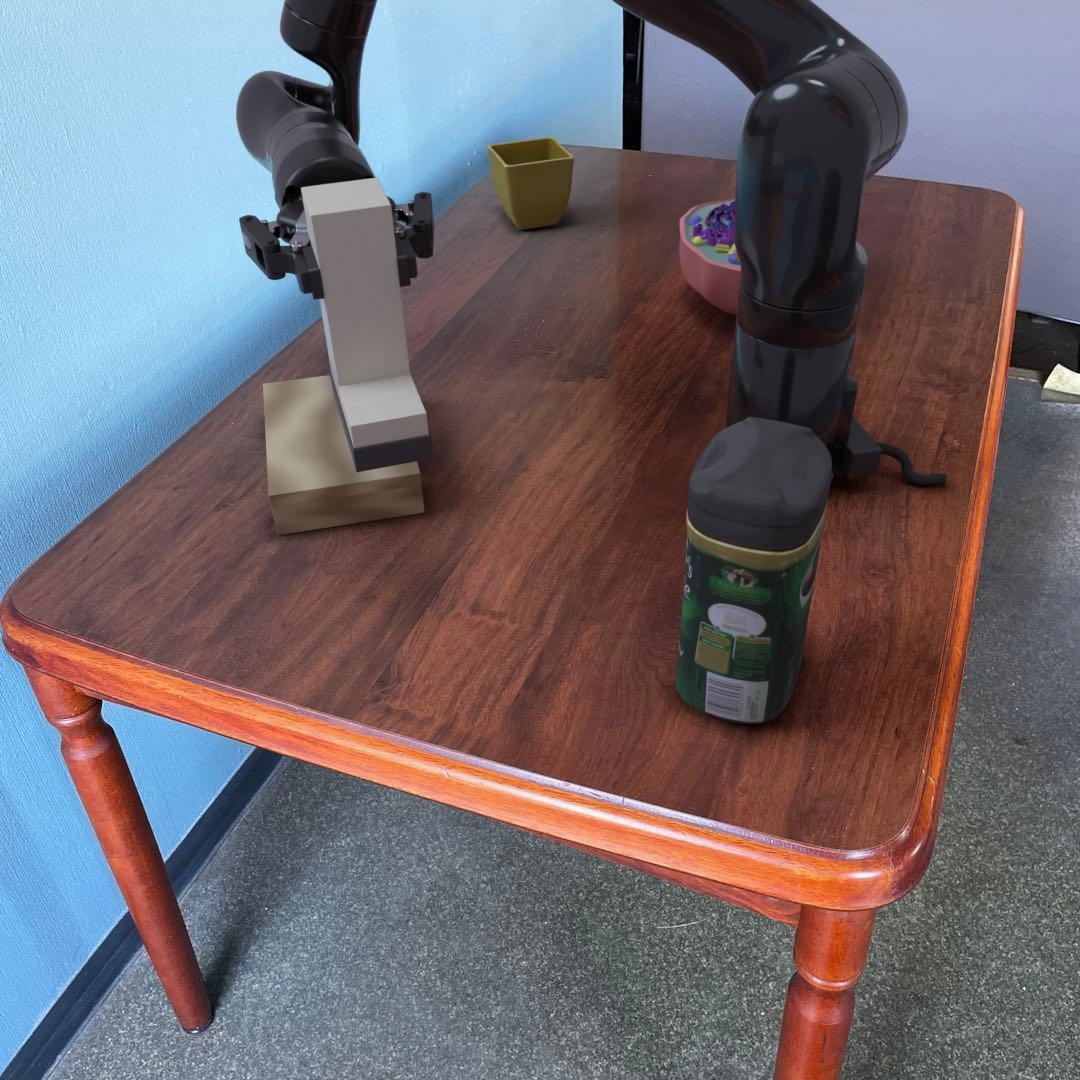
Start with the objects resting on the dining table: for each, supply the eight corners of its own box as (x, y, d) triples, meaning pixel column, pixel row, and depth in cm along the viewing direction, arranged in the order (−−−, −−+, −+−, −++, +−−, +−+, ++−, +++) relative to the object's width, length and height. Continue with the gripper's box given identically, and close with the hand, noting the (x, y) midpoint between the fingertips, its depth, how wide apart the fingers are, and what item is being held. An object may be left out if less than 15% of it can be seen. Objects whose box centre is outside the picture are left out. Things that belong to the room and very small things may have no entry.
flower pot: (490, 214, 139) (486, 143, 133) (554, 204, 141) (552, 135, 135) (508, 239, 132) (505, 166, 127) (575, 229, 134) (575, 157, 129)
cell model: (652, 334, 112) (657, 229, 105) (694, 257, 127) (700, 161, 120) (817, 355, 108) (833, 248, 101) (840, 273, 122) (855, 174, 115)
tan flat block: (398, 403, 102) (393, 366, 100) (424, 512, 89) (420, 473, 86) (270, 420, 101) (262, 383, 98) (277, 535, 87) (268, 495, 84)
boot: (333, 391, 79) (298, 184, 70) (402, 379, 80) (377, 174, 71) (356, 472, 71) (320, 250, 61) (433, 458, 72) (410, 237, 62)
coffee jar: (701, 617, 78) (721, 395, 66) (810, 646, 75) (850, 419, 64) (658, 710, 71) (672, 479, 59) (777, 744, 68) (816, 510, 57)
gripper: (218, 149, 78) (235, 239, 65) (413, 125, 81) (466, 207, 68) (238, 247, 82) (259, 349, 70) (422, 222, 85) (473, 315, 73)
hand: (361, 278), depth 69 cm, fingers closed on boot, 5 cm apart
